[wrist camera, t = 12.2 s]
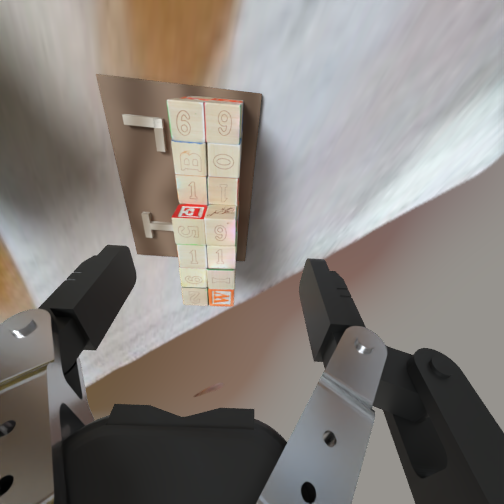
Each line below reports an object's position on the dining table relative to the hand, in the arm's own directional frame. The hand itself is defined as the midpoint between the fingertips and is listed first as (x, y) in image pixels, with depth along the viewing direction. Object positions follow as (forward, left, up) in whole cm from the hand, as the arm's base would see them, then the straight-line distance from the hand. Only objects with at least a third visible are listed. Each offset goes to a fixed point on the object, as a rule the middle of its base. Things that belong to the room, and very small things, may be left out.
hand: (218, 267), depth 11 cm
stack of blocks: (+2, +5, -24) cm, 24 cm away
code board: (+6, +5, -24) cm, 25 cm away
